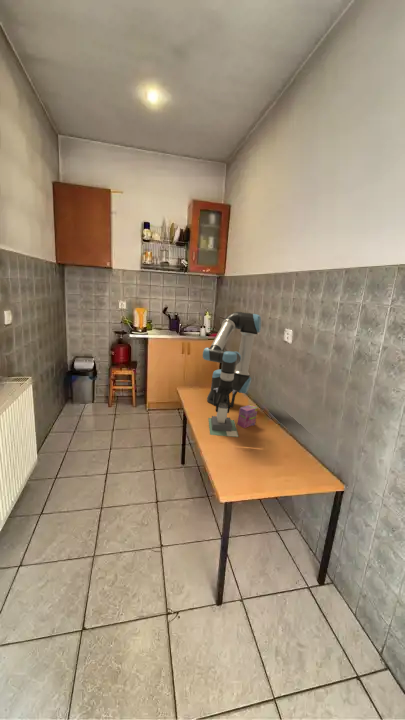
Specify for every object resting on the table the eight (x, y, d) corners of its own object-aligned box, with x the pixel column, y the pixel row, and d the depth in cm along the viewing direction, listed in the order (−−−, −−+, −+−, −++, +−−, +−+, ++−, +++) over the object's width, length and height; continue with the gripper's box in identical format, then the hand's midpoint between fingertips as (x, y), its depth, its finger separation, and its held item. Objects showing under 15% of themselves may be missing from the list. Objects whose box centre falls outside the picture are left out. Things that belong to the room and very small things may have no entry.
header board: (208, 418, 183) (208, 412, 182) (233, 421, 184) (234, 414, 183) (209, 435, 162) (210, 428, 161) (238, 438, 163) (239, 431, 162)
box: (244, 429, 175) (246, 410, 172) (236, 425, 179) (239, 407, 176) (255, 425, 182) (258, 407, 179) (248, 421, 186) (250, 404, 183)
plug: (216, 421, 175) (219, 402, 172) (223, 422, 175) (226, 403, 172) (217, 424, 171) (220, 405, 168) (224, 425, 171) (227, 406, 168)
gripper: (211, 379, 162) (207, 419, 168) (242, 382, 163) (237, 421, 169) (211, 375, 169) (206, 413, 175) (240, 378, 170) (235, 415, 176)
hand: (221, 417), depth 172 cm, fingers closed on plug, 4 cm apart
